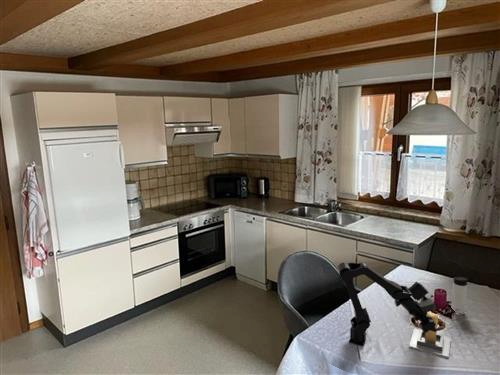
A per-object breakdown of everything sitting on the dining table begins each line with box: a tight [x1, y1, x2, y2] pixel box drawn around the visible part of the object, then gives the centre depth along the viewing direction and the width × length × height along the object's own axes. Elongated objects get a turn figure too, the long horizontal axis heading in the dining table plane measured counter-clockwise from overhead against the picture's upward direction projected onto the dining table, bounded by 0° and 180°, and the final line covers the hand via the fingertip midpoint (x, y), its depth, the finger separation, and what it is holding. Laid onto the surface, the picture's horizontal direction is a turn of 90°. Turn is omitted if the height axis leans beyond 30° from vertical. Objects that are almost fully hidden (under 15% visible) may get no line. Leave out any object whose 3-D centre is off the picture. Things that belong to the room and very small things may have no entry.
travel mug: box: [450, 276, 468, 316], centre depth 194 cm, size 6×7×20 cm
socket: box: [409, 328, 452, 359], centre depth 171 cm, size 16×16×3 cm
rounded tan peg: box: [425, 312, 439, 344], centre depth 170 cm, size 5×5×13 cm
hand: (434, 328), depth 170 cm, fingers closed on rounded tan peg, 4 cm apart
